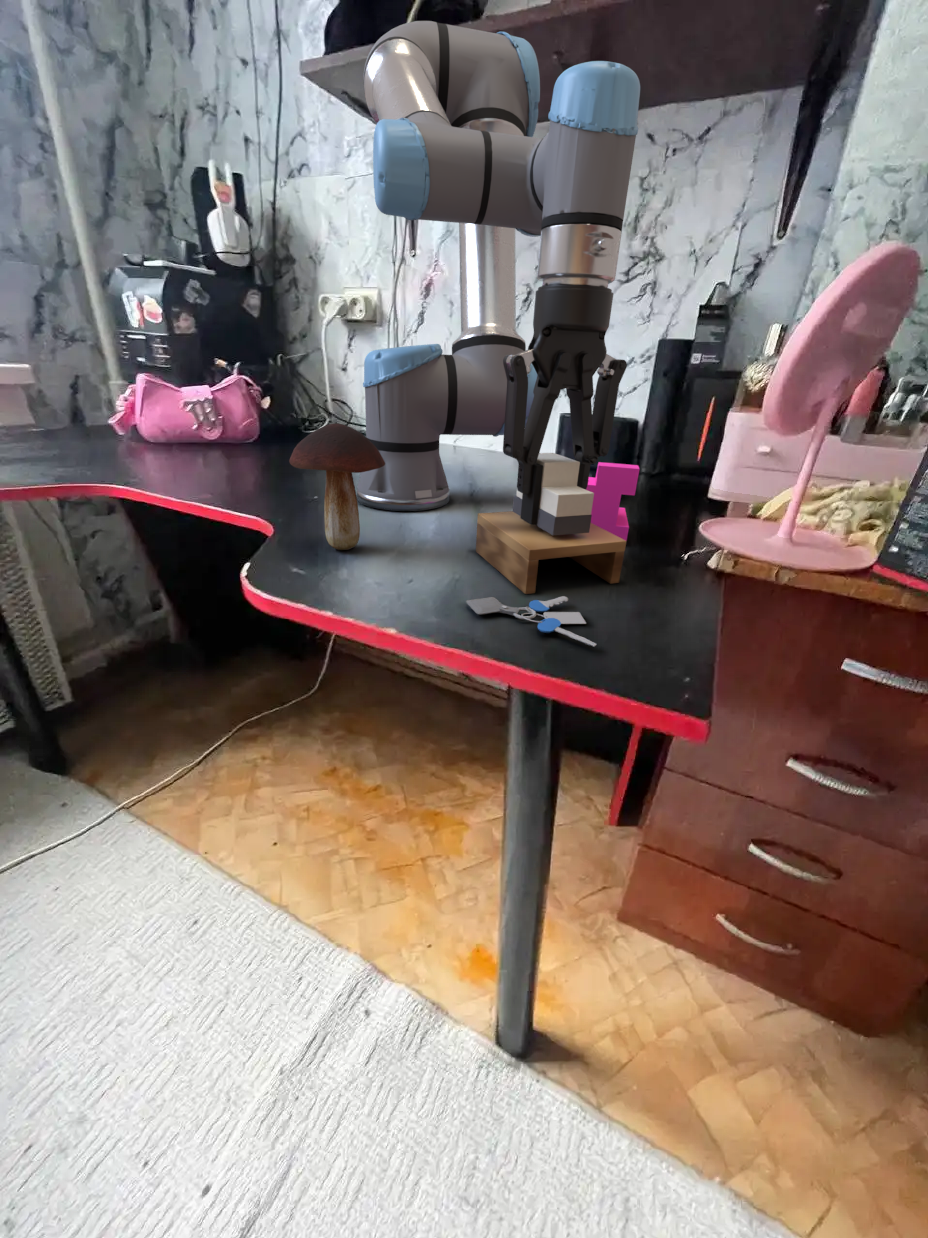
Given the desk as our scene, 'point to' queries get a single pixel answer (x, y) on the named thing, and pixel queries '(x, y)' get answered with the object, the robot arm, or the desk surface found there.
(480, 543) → the oak shelf
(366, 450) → the decorative mushroom
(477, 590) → the desk surface
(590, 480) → the bracket
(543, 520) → the stepped grey-based block
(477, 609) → the key chain
